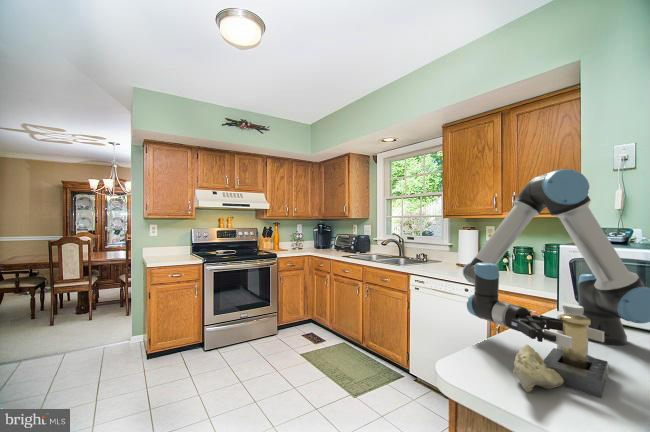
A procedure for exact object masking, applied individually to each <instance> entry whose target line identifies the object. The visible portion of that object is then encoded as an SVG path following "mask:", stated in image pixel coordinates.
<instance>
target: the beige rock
mask: <svg viewBox="0 0 650 432" xmlns="http://www.w3.org/2000/svg"><path fill="white" fill-rule="evenodd" d="M543 360H544V359H543V358H542V357H541V355H540V354H539V353H538V352H537V351H535V349H534V347H532V346H530V345H529V344H524V345H523V346H522V347H521V348H520V350H519V351H518V352H517V353H516V355H515V358H514V362H513V365H514V366H513V367H514V368H513V370H512V372H513V375H514V376H515V378H516V379H517V380H518V381H519V383H520V384H521V386H522V388H523V389H524V391H525V393H526V392H527V393H530V392H531V391H532V390H533V388H534V387H535V386H539V387H542V388H544V389H548V390H549V389H550V390H551V389H554V388H558V387H561V385H562V384H563V382H564V380H563V378H562V377H561V376H560V374H559V373H557V372H556V371H555V370H554V369H550V368H547V367H546V365H545V363H544V361H543Z"/></svg>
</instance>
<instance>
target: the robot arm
mask: <svg viewBox="0 0 650 432" xmlns="http://www.w3.org/2000/svg"><path fill="white" fill-rule="evenodd" d="M589 190H590V183H589V180H588V179H587V177H586V176H585V175H584V174H582V173H581V172H579V171H578V170H575V169H569V168H565V169H556V170H553V171H549V172H547V173H544V174H540V175H537V176H535V177H533V178H531V180H530V181H528V182H527V183H526V185H525V186H524V188H523V189H522V190H521V191H520V193H519V194H518V195H517V196H516V198H515V199H514V201H513V202H512V203H513V206H512V208H511V209H510V211H509V212H508V213H507V215H506V216H505V217H504V219H503V220H502V221H501V222H500V224H499V225H498V227H497V228H496V229H495V230H494V232H493V233H492V234H491V236H490V237H489V239H488V240H487V241H486V242H485V244H484V245H483V246H482V247H481V249H480V250H479V252H478V253H477V255H476V256H475V257H474V258H473V259H472V261H470V262H469V263H467V264H465V265H464V266H463V269H462V275H463V277H464V278H465V279H466V281H467V282H468V283H471V284H473V285H474V293H473V294H471V295H470V296H468V297H467V299H468V300H467V301H466V308H467V311H468V312H469V314H471V315H473V316H475V317H477V318H479V319H480V320H486V321H487V322H491V323H494V324H497V325H500V326H501V327H502V328H509V329H511V330H514V331H517V332H520V333H522V334H524V335H525V336H527V337H528V338H530V339H531V340H536V339H537V342H538V343H539V342H540V343H543V340H544V341H547V342H549V343H552V344H555V345H557V344H558V345H561V346H564V347H567V348H569V349H572V337H569V336H566V335H563V334H559V333H557V330H560V331H563V321H561V320H560V319H557V318H555V317H551V316H546V315H542V314H541V315H537V314H536V315H535V314H534V315H533V314H531V313H530V311H529V310H528V309H527V308H526V307H523V306H520V305H515V304H513V303H509V302H504V301H501V300H499V286H500V285H499V284H500V280H499V278H500V272H499V271H500V269H499V266H498V263H499V262H500V260H501V259H502V258H503V257H504V255H505V254H506V253H507V252H508V250H509V249H510V248H511V246H512V245H513V243H514V242H515V241H516V240H517V239H518V238H519V236H520V235H521V234H522V232H523V231H524V230H525V229H526V227H527V226H528V225H529V223H530V222H531V221H532V219H533V218H534V217H538V216H539V215H540V214H541V213H542V211H544V210H545V209H547V211H548V212H549V215H551V216H552V217H555V218H558V219H559V221H560V222H561V224H562V225H563V227H564V228H565V230H566V231H567V233H568V235H569V238H571V240H572V241H573V243H574V245H575V247H576V248H577V249H578V251H579V253H580V254H581V256H582V258H583V259H584V262H585V263H586V264H587V266H588V268H589V269H590V271H591V273H592V274H591V273H586V274H585V273H582V274H580V275H579V276H578V277H579V278H578V281H577V284H578V305H579V306H582V307H583V308H584V312H583V314H582V315H584V316H586V317H587V318H589V319H590V320H591V325H589V327H587V338H588V341H592V342H595V343H600V344H606V345H617V346H618V345H619V346H621V345H627V344H628V336H627V334H626V331H625V328H624V325H623V323H622V320H624V321H627V322H631V323H634V324H648V323H650V287H647V286H645V284H644V283H643V281H642V279H641V278H640V277H639V275H638V274H637V273H635V272H632V271H630V270H628V268H627V267H626V265H625V264H624V262H623V260H622V258H621V257H620V255H619V254H618V252H617V251H616V249H615V248H614V246H613V244H612V243H611V241H610V240H609V238H608V236H607V235H606V233H605V232H604V230H603V228H602V226H601V225H600V223H599V222H598V220H597V218H596V217H595V215H594V214H593V212H592V211H591V209H590V207H589V206H590V203H591V202H592V200H591V198H590V196H589ZM552 330H553V331H552ZM555 331H556V332H555Z"/></svg>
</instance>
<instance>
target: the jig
mask: <svg viewBox="0 0 650 432" xmlns="http://www.w3.org/2000/svg"><path fill="white" fill-rule="evenodd" d="M542 360H543V361H544V363H545V365H546V367H547V368H550V369H554V370H555V371H556V372H557V373H559V374H560V376H561V377H562V378H563V380H564V382H563V384H562V385H561V386H562V387H565V388H568V389H571V390H575V391H577V392H581V393H584V394H587V395H590V396H594V397H596V398H600V399H602V396H603V394H604V393H603V392H604V390H605V386H606V383H607V379H608V377H609V376H608V375H609V374H608V373H609V372H608V367H609V366H608V364H609V361H607V360H605V359H600V358H595V357H593V356H592V357H591V356H588V355H587V370H585V369H581V368H577V367H574V366H570V365H567V364H563V350H560V349H557V347H556V348H555V347H553V348H552V350H551V351H549V353H548V354H547V355H546V357H545V358H544V359H542ZM607 376H608V377H607ZM561 386H560V387H561Z"/></svg>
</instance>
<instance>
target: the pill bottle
mask: <svg viewBox="0 0 650 432" xmlns="http://www.w3.org/2000/svg"><path fill="white" fill-rule="evenodd" d="M561 310H562V311H560V312H558V313H557V319H560V314H573V315H579V316H583V317H586V316H584V315H582V314H583V312H584V308H583V307H582V306H579V304H573V303H563V304H562V309H561ZM587 327H589V326H587ZM556 333H559V334H563V331H560V330H556ZM556 349H560V350H563V346H561V345H558V344H556ZM588 355H589V340H588V338H587V356H588Z"/></svg>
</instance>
